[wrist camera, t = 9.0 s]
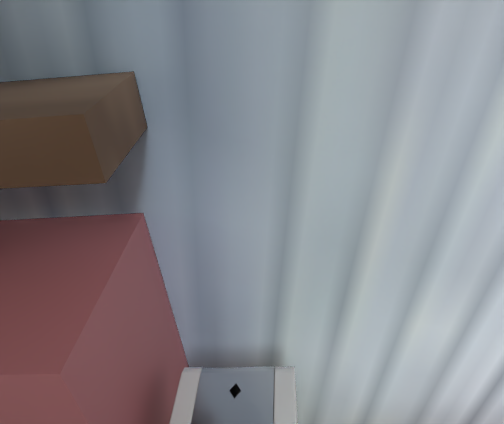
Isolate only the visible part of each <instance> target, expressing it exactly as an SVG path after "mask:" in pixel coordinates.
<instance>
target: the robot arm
mask: <svg viewBox="0 0 504 424" xmlns="http://www.w3.org/2000/svg"><path fill="white" fill-rule="evenodd" d="M169 424H298V415H297V398H296V381H295V367H275V366H266V367H238V368H216V367H184V369H183V371H182V373H181V377H180V381H179V385H178V389H177V393H176V397H175V402H174V406H173V410H172V414H171V418H170V422H169Z"/></svg>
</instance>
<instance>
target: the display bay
mask: <svg viewBox="0 0 504 424" xmlns="http://www.w3.org/2000/svg"><path fill="white" fill-rule="evenodd" d="M146 129H147V124H146V120H145V116H144V111H143V107H142V103H141V99H140V95H139V91H138V87H137V83H136V79H135V74H134V72H122V73H110V74H98V75H85V76H73V77H60V78H48V79H36V80H23V81H11V82H0V189H2V188H21V187H41V186H60V185H80V184H99V183H106V182H107V181H108V180H109V178H110V177H111V176H112V174H113V173H114V172H115V170H116V169H117V168H118V166H119V165H120V164H121V162H122V161H123V160H124V158H125V157H126V156H127V154H128V153H129V152H130V150H131V149H132V148H133V146H134V145H135V144H136V142H137V141H138V139H139V138H140V137H141V135H142V134H143V133H144V131H145V130H146Z"/></svg>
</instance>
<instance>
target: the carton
mask: <svg viewBox="0 0 504 424" xmlns="http://www.w3.org/2000/svg"><path fill="white" fill-rule="evenodd" d="M184 367H189V366H188V362H187V359H186V355H185V352H184V349H183V345H182V342H181V339H180V335H179V332H178V329H177V325H176V322H175V318H174V315H173V312H172V308H171V305H170V302H169V298H168V295H167V291H166V288H165V285H164V281H163V278H162V275H161V271H160V268H159V264H158V261H157V258H156V254H155V251H154V248H153V244H152V241H151V238H150V234H149V231H148V227H147V224H146V221H145V217H144V214H143V213H133V214H114V215H95V216H76V217H57V218H38V219H19V220H0V424H169V422H170V418H171V414H172V410H173V406H174V402H175V397H176V393H177V389H178V385H179V381H180V377H181V373H182V371H183V369H184Z"/></svg>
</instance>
